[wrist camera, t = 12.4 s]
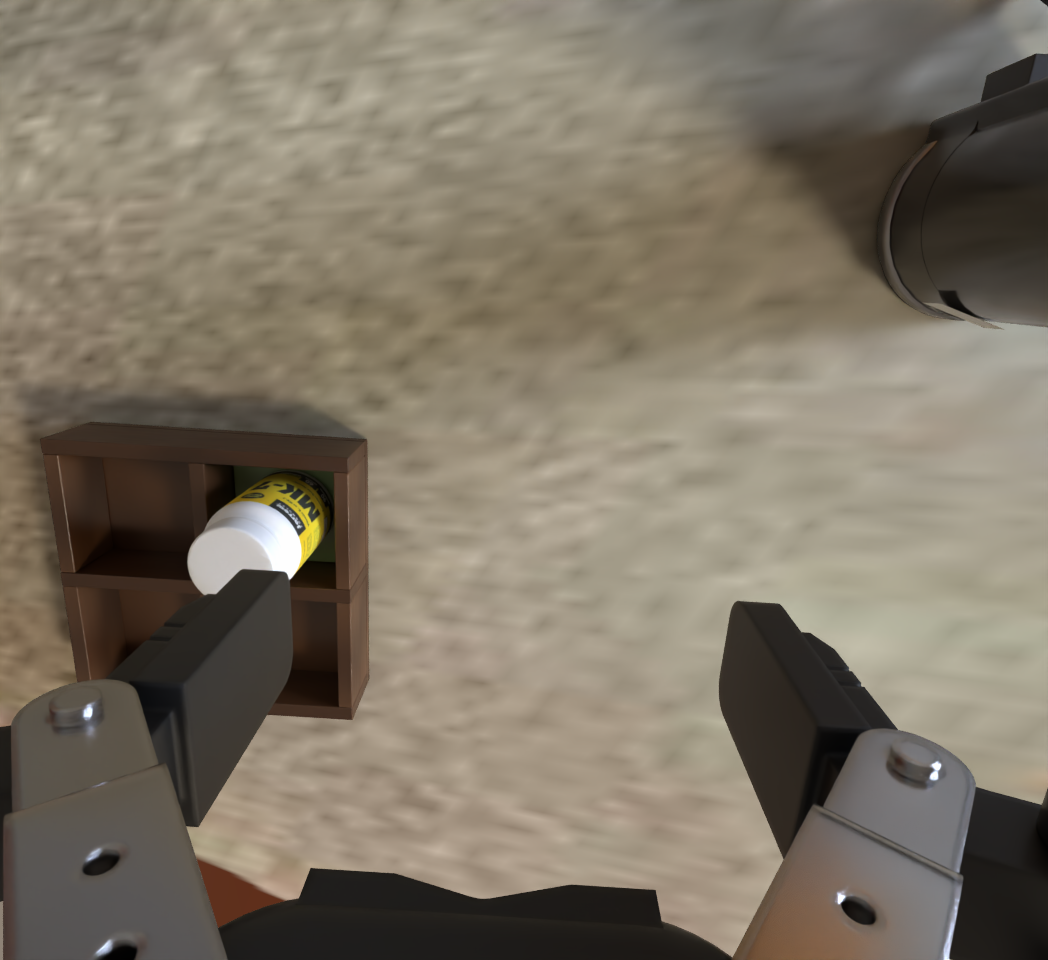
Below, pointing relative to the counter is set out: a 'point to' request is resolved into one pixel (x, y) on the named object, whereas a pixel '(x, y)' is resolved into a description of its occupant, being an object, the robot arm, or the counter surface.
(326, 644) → the grid
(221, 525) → the supplement bottle
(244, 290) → the counter surface
